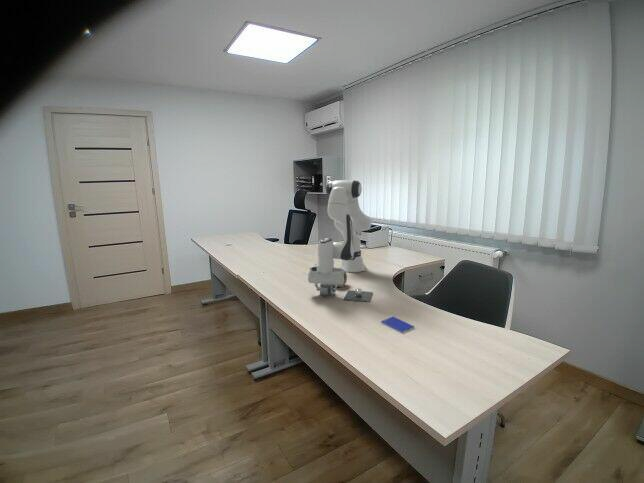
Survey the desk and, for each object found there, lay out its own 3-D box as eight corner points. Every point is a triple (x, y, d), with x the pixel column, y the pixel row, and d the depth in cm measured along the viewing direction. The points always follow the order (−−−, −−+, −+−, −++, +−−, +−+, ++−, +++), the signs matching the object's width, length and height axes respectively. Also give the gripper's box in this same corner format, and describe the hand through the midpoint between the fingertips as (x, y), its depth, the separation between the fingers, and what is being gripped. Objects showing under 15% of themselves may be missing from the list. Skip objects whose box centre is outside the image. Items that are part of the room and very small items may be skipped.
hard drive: (380, 320, 149) (401, 331, 139) (393, 316, 153) (414, 325, 143) (380, 324, 149) (401, 334, 139) (393, 319, 153) (414, 329, 143)
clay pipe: (323, 293, 197) (346, 288, 192) (317, 277, 195) (340, 271, 191) (330, 282, 215) (352, 277, 210) (325, 267, 213) (347, 262, 208)
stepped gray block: (323, 291, 189) (322, 281, 188) (333, 292, 188) (333, 282, 187) (318, 298, 180) (318, 287, 179) (329, 298, 178) (329, 288, 177)
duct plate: (348, 291, 189) (348, 284, 189) (372, 293, 186) (372, 286, 185) (343, 300, 176) (343, 293, 175) (369, 302, 173) (369, 295, 172)
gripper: (345, 266, 181) (345, 290, 184) (310, 264, 186) (310, 287, 189) (343, 270, 175) (343, 294, 178) (306, 267, 181) (307, 291, 183)
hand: (326, 291), depth 184 cm, fingers open, 8 cm apart
